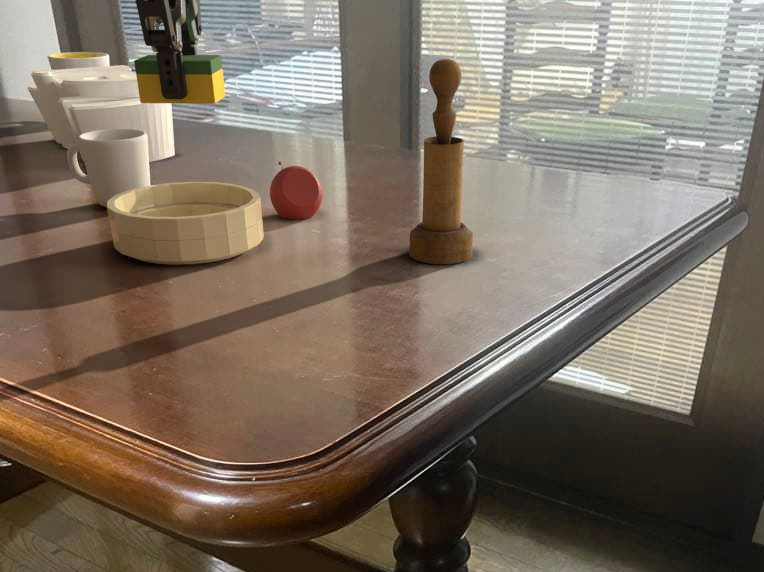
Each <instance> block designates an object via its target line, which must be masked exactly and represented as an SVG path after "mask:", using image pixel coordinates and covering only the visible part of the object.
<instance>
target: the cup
mask: <svg viewBox="0 0 764 572" xmlns="http://www.w3.org/2000/svg"><path fill="white" fill-rule="evenodd" d="M79 151H80V152H81V153H82V156H83V159H84V161H83V162H84V166H85V170H86V173H87V174H85V173H83V171H82V169H81V168H80V166H79V162H78V152H79ZM66 159H67V163H68V167H69V170H70V172H71V174H72V175H73V177H74V178H75V179H76V181H79V182H80V183H83V184H87V185H90V186H91V189H92V192H93V195H94V197H95V199H96V201H97V203H98V204H99V205H100V206H102V207H104V208H107V201H108V200H109V199H111V198H112V197H113V196H115V195H117V194H120V193H123V192H125V191H128V190H131V189H136V188H140V187H145V186H150V185H151V173H150V172H151V171H150V162H149V154H148V138H147V134H146V133H145V132H143V131H140V130H133V129H107V130H97V131H91V132H87V133H84V134H81V135H80V136H79V137H78V142H77V143H74V144H72V145H71V146H70V147H69V148H68V149H67V150H66Z"/></svg>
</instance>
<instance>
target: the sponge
mask: <svg viewBox="0 0 764 572" xmlns="http://www.w3.org/2000/svg"><path fill="white" fill-rule="evenodd" d="M183 62H184V70H185V77H186V85H187V96H186V97H185V98H184V99H165V98H164V97H163V96H162V92H161V85H160V78H159V71H158V64H157V57H156V54H147V55H144V56H142V57H139V58H137V59H135V60H133V64H134V69H135V72H136V77H137V83H138V90H139V96H140V102H141V103H171V104H190V105H191V104H202V105H203V104H204V105H205V104H207V105H208V104H209V105H211V104H212V105H215V104H217V103H218V102H220V101H221V100H223V99H224V98H225V97H226V87H225V79H224V78H225V77H224V70H223V60H222V55H220V54H197V55H183Z"/></svg>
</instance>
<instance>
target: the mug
mask: <svg viewBox="0 0 764 572" xmlns="http://www.w3.org/2000/svg"><path fill="white" fill-rule="evenodd" d="M46 57H47V60H48V62H49V63H48V64H49V66H50V70H59V69H73V68H88V67H103V66H111V64H110V55H109V54H108V53H106V52H98V51H97V52H96V51H70V52H55V53H50V54H47V56H46Z"/></svg>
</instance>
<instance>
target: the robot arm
mask: <svg viewBox="0 0 764 572" xmlns="http://www.w3.org/2000/svg"><path fill="white" fill-rule="evenodd" d="M135 4H136V9H137V14H138V18H139V22H140V27H141V31H142V36H143V41H144V44H145V46H146V47H151V50H152V52H154V53H155V55H156V57H157V64H158V71H159V78H160V85H161V92H162V96H163V97H164V98H165V99H184V98H185V97H186V96H187V85H186V77H185V70H184V62H183V55H198V52H197V45H199V36H202V31H203V25H202V14H201V0H135ZM161 24H162V25H163V28H164V29H160V25H161Z"/></svg>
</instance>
